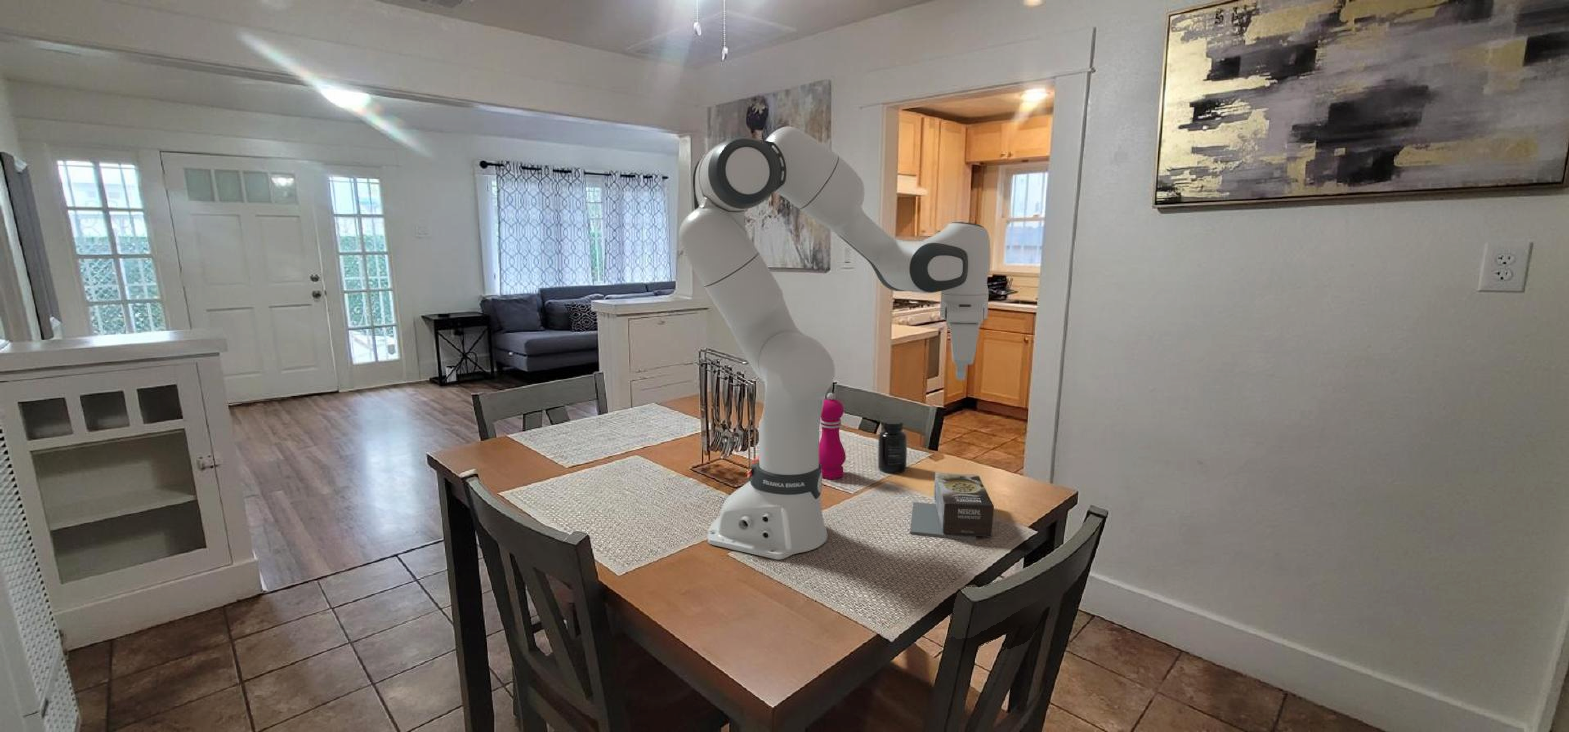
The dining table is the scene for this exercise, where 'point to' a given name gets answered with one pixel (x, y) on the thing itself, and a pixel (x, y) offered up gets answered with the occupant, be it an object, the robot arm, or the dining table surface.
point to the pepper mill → (831, 439)
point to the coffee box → (963, 505)
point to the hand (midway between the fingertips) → (960, 378)
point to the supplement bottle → (892, 447)
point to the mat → (930, 522)
